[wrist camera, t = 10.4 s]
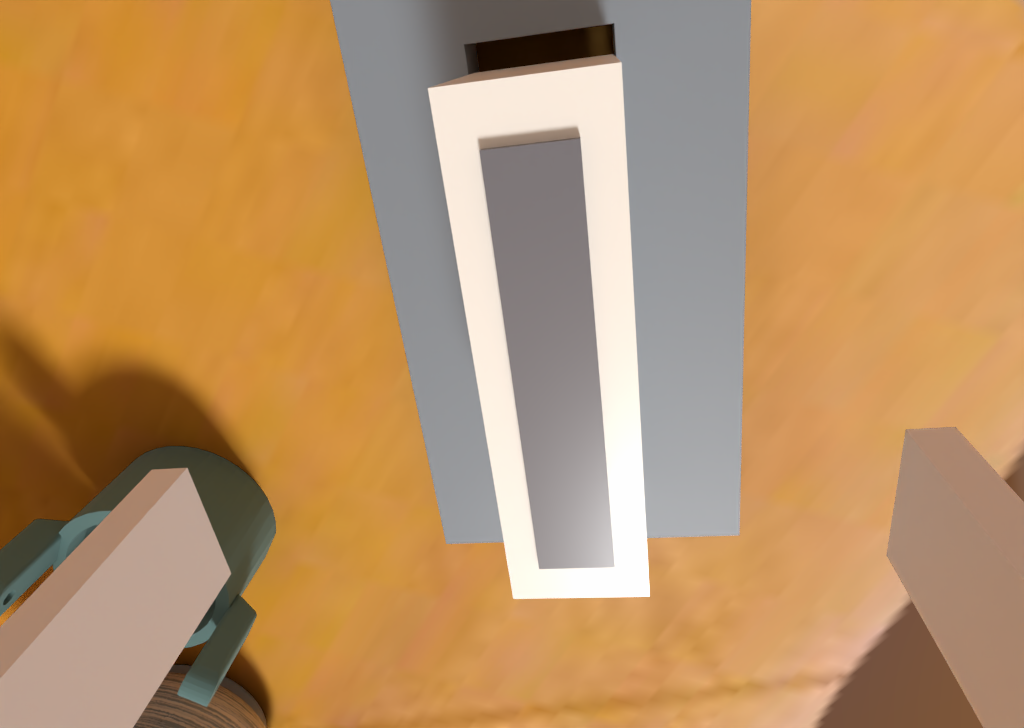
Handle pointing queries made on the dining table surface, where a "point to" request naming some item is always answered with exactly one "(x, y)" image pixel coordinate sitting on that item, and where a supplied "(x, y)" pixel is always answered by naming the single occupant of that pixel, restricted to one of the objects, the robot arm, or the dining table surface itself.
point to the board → (653, 223)
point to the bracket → (235, 522)
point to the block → (551, 316)
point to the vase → (200, 706)
